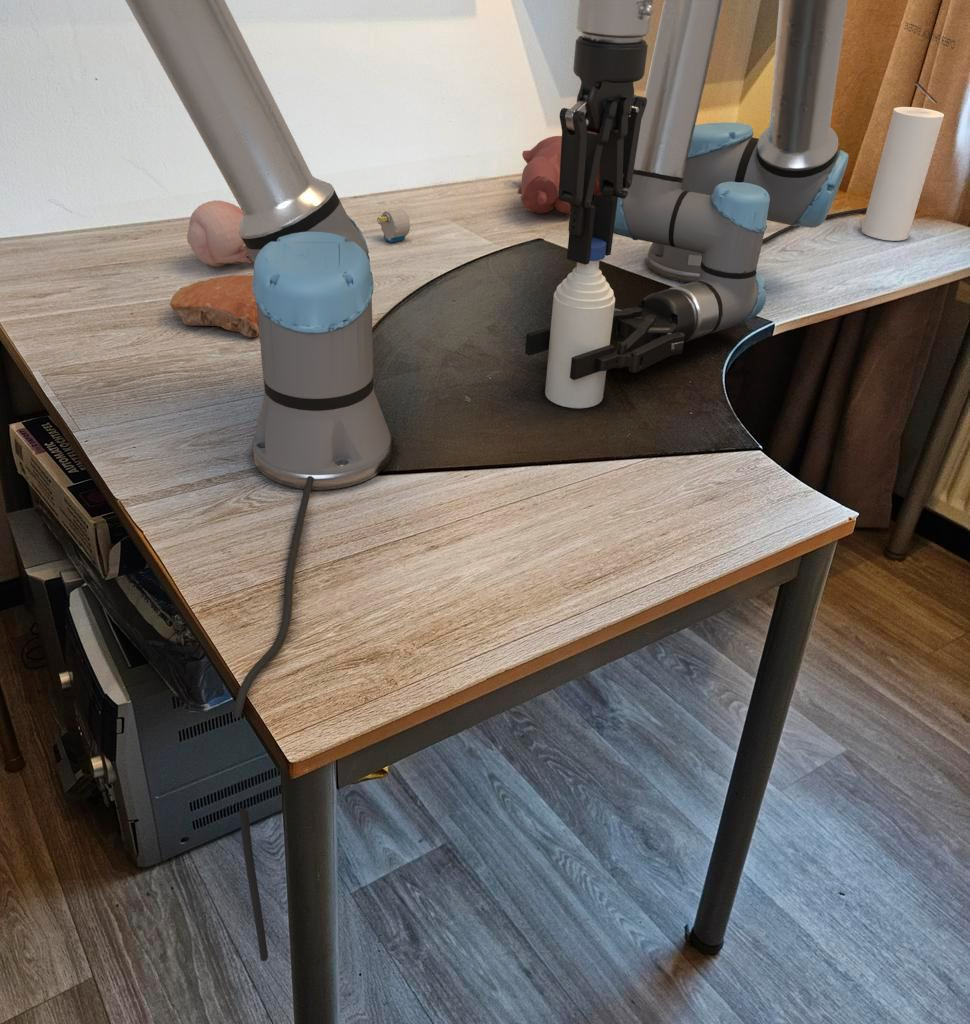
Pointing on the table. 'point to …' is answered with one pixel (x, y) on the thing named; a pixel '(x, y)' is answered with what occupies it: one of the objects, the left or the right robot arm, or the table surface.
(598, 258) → the cap
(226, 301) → the ceramic shard
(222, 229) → the toy
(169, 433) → the table surface
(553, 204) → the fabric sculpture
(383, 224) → the electric motor
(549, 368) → the bottle
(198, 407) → the table surface
